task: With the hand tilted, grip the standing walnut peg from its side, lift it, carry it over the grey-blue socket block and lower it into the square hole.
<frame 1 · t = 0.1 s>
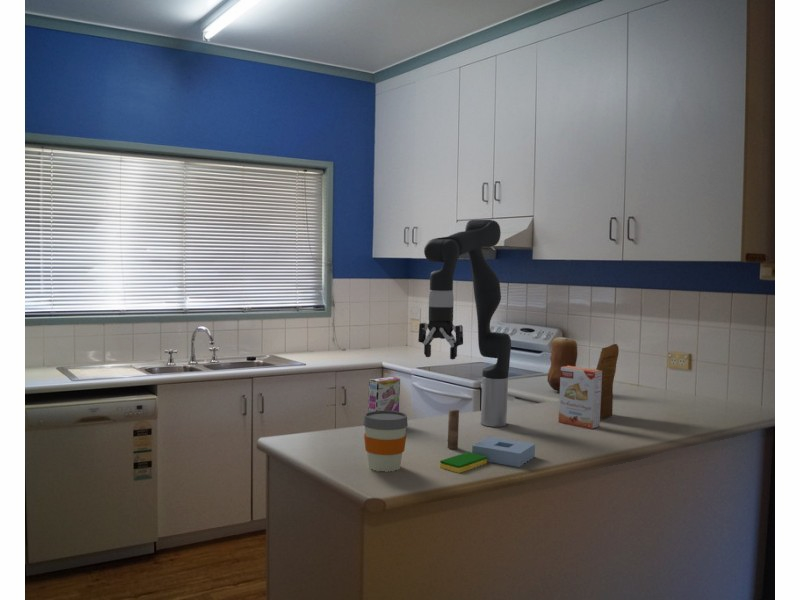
hand: (440, 358, 223), 29 cm above the table, tool pointing down, fingers open, 8 cm apart
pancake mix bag: (602, 417, 279), on the table
reusable coffee cup: (384, 467, 207), on the table
dish sponge: (463, 467, 211), on the table
butternut squash: (562, 392, 329), on the table
walnut peg: (452, 448, 229), on the table
candy bar box: (383, 425, 258), on the table
hole block: (503, 457, 220), on the table
cracker box: (578, 425, 266), on the table
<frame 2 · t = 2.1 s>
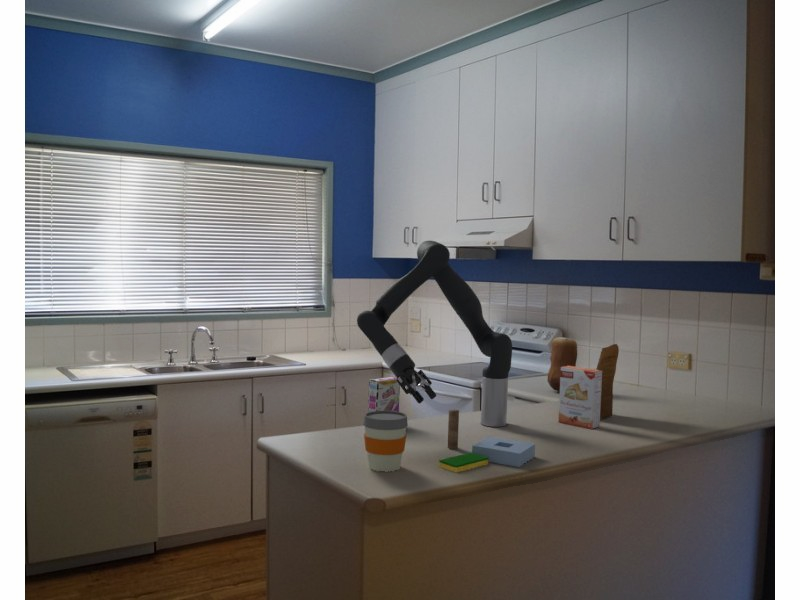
hand: (428, 399, 233), 14 cm above the table, tool tilted 45°, fingers open, 8 cm apart
nothing on the table moved.
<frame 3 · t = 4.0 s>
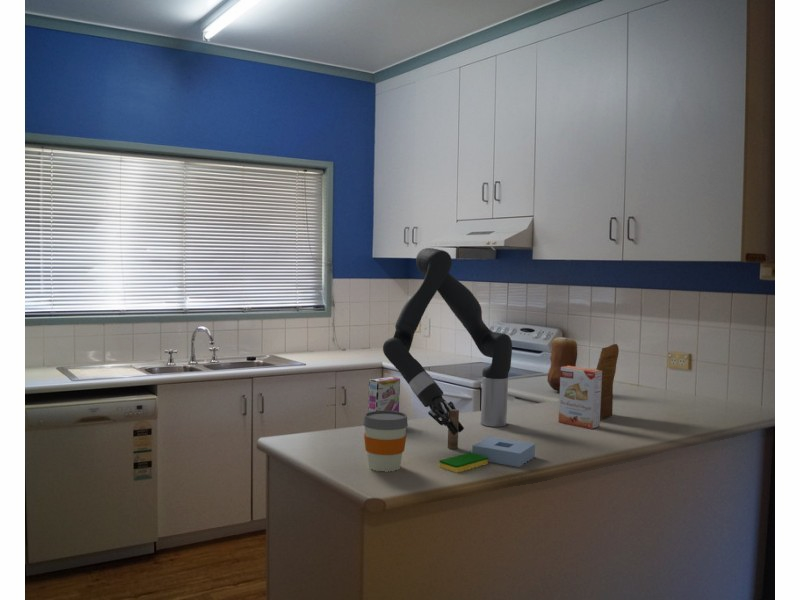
hand: (459, 431, 228), 5 cm above the table, tool tilted 45°, fingers closed on walnut peg, 3 cm apart
walnut peg: (452, 448, 229), on the table, touching gripper
everything else where it was.
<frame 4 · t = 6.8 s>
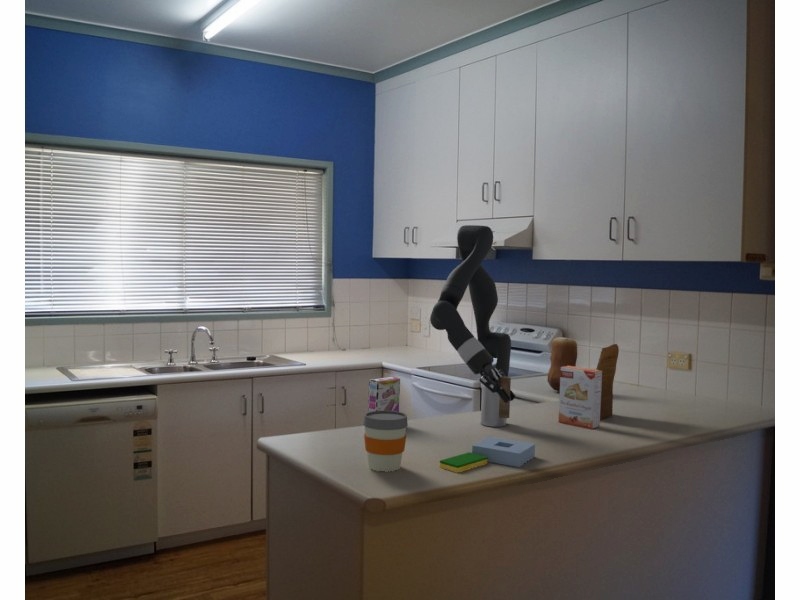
hand: (510, 399, 218), 18 cm above the table, tool tilted 45°, fingers closed on walnut peg, 3 cm apart
walnut peg: (503, 417, 219), point 12 cm above the table, touching gripper
everything else where it was.
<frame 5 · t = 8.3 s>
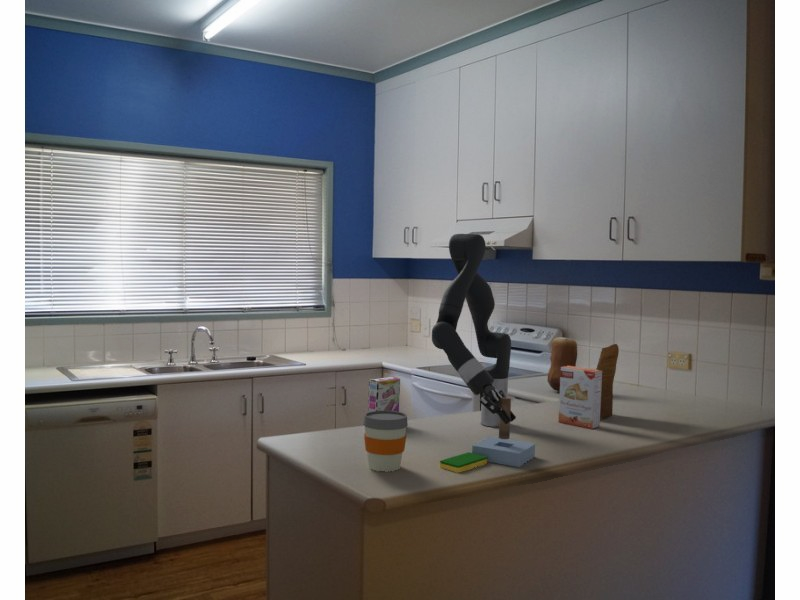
hand: (511, 420, 218), 12 cm above the table, tool tilted 45°, fingers closed on walnut peg, 3 cm apart
walnut peg: (504, 438, 219), point 6 cm above the table, touching gripper
everything else where it was.
when the fingers open (8 cm above the table, at t = 9.5 s): walnut peg drops 2 cm, resting in hole block.
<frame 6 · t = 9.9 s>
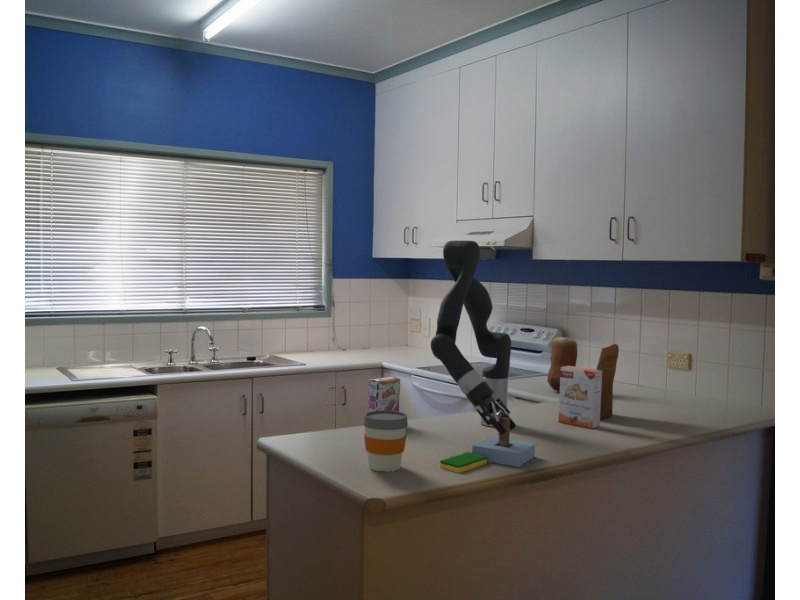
hand: (509, 430, 218), 9 cm above the table, tool tilted 45°, fingers open, 7 cm apart
walnut peg: (503, 457, 220), resting in hole block
everything else where it was.
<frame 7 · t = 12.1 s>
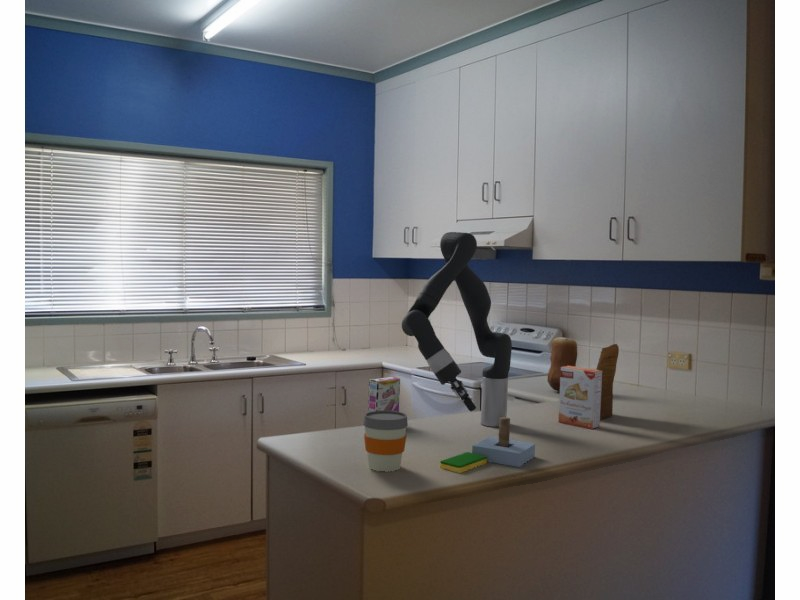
hand: (472, 409, 227), 13 cm above the table, tool tilted 35°, fingers open, 8 cm apart
nothing on the table moved.
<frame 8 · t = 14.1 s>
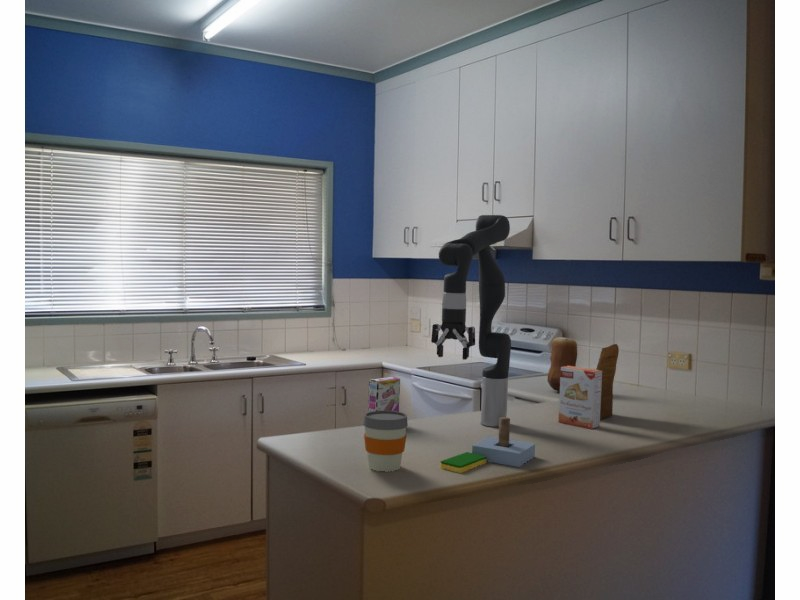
hand: (452, 358, 230), 28 cm above the table, tool pointing down, fingers open, 8 cm apart
nothing on the table moved.
at the end: walnut peg 0.1 cm off-centre on the hole block, point 0.0 cm above the hole block's base; walnut peg tilted 0°; the gripper is holding nothing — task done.
